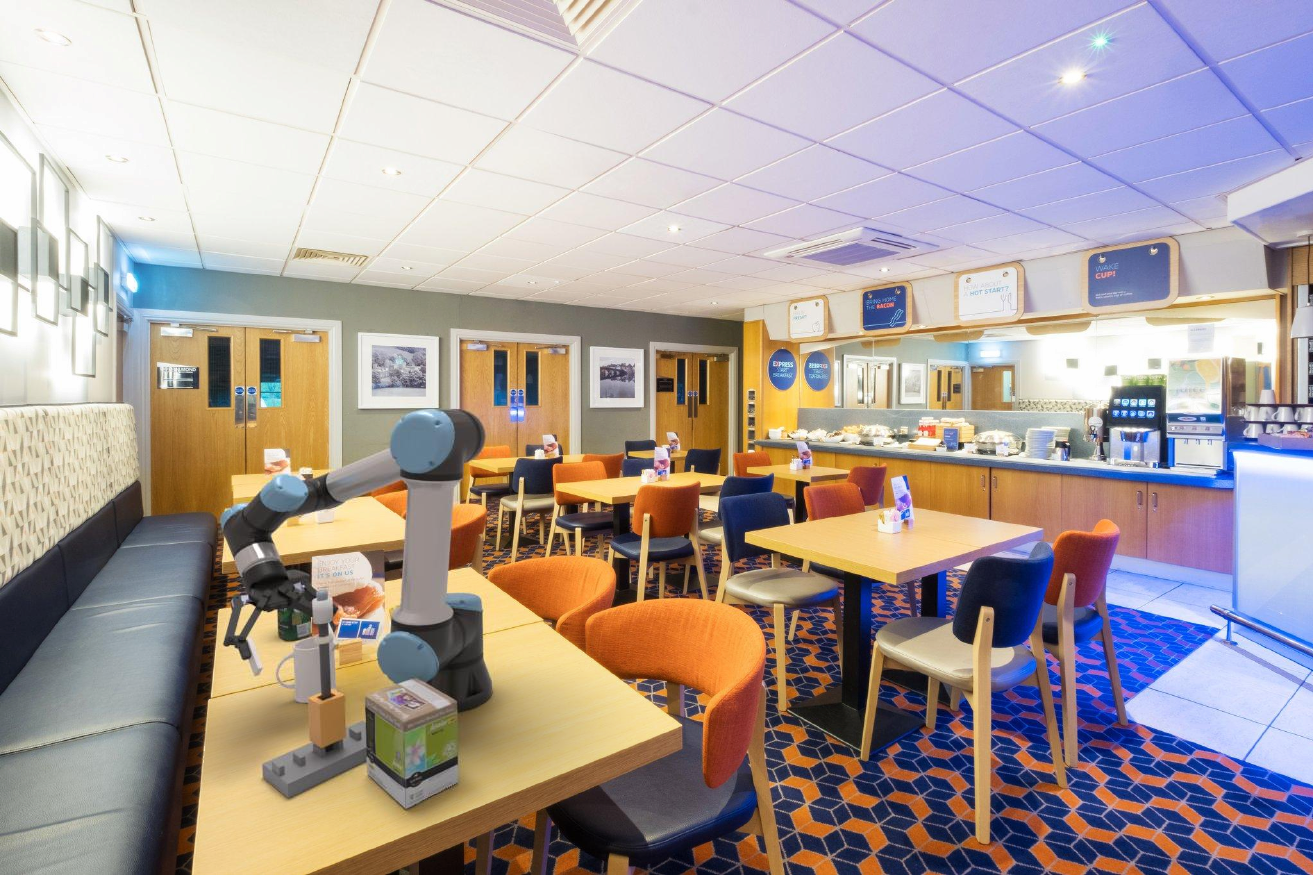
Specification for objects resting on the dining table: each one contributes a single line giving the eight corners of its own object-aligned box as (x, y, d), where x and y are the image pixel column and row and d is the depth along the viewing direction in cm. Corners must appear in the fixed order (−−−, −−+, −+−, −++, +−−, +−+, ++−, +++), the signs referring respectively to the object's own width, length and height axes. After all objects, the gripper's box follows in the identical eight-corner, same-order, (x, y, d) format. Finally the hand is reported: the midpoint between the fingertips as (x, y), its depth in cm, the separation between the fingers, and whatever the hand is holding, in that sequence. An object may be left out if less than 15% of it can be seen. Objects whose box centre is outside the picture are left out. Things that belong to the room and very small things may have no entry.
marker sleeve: (334, 729, 115) (332, 688, 114) (346, 737, 112) (344, 694, 112) (309, 740, 111) (307, 697, 111) (321, 748, 109) (319, 704, 108)
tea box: (461, 782, 106) (459, 699, 105) (404, 812, 98) (401, 722, 98) (419, 750, 116) (416, 674, 115) (365, 774, 108) (362, 693, 108)
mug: (278, 711, 131) (275, 656, 130) (276, 696, 138) (273, 644, 137) (339, 696, 138) (337, 644, 137) (334, 682, 145) (332, 632, 144)
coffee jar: (274, 635, 175) (271, 571, 173) (304, 627, 181) (301, 565, 180) (286, 644, 168) (283, 577, 167) (317, 635, 174) (314, 571, 173)
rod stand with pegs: (362, 732, 122) (357, 575, 120) (390, 749, 116) (384, 583, 115) (262, 777, 108) (254, 599, 106) (288, 798, 102) (279, 610, 100)
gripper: (319, 567, 137) (355, 648, 129) (184, 596, 117) (217, 694, 109) (329, 547, 134) (368, 629, 126) (193, 573, 114) (227, 672, 106)
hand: (298, 659), depth 117 cm, fingers open, 13 cm apart
